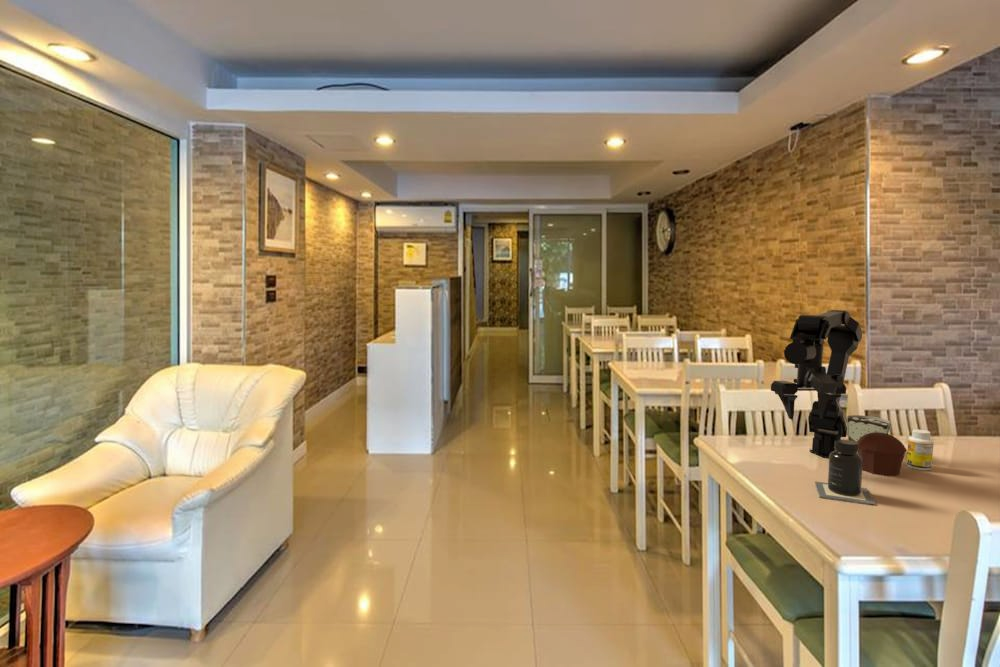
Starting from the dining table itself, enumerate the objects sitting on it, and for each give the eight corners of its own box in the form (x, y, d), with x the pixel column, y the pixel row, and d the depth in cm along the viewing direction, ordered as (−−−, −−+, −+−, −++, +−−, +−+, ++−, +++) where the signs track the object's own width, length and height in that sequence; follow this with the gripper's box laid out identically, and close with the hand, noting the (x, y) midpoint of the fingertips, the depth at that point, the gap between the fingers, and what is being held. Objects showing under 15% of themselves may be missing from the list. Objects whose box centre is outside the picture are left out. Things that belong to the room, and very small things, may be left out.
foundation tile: (814, 482, 144) (815, 481, 144) (866, 489, 140) (866, 487, 140) (819, 497, 134) (819, 495, 134) (875, 505, 130) (875, 503, 130)
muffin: (844, 464, 160) (846, 428, 159) (881, 463, 161) (884, 428, 160) (875, 478, 148) (878, 440, 148) (916, 477, 149) (919, 439, 149)
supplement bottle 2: (907, 463, 162) (910, 427, 161) (931, 467, 158) (935, 430, 157) (905, 468, 157) (908, 431, 156) (930, 472, 154) (933, 434, 153)
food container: (897, 454, 170) (900, 421, 169) (888, 458, 167) (890, 423, 166) (852, 444, 180) (855, 413, 179) (843, 447, 177) (845, 415, 176)
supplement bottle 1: (843, 485, 141) (846, 437, 140) (867, 495, 135) (871, 444, 134) (820, 487, 140) (823, 438, 139) (844, 497, 133) (847, 446, 132)
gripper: (798, 365, 146) (794, 426, 147) (864, 365, 149) (859, 425, 150) (771, 360, 157) (767, 416, 158) (833, 360, 160) (829, 415, 161)
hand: (806, 418), depth 157 cm, fingers open, 9 cm apart
